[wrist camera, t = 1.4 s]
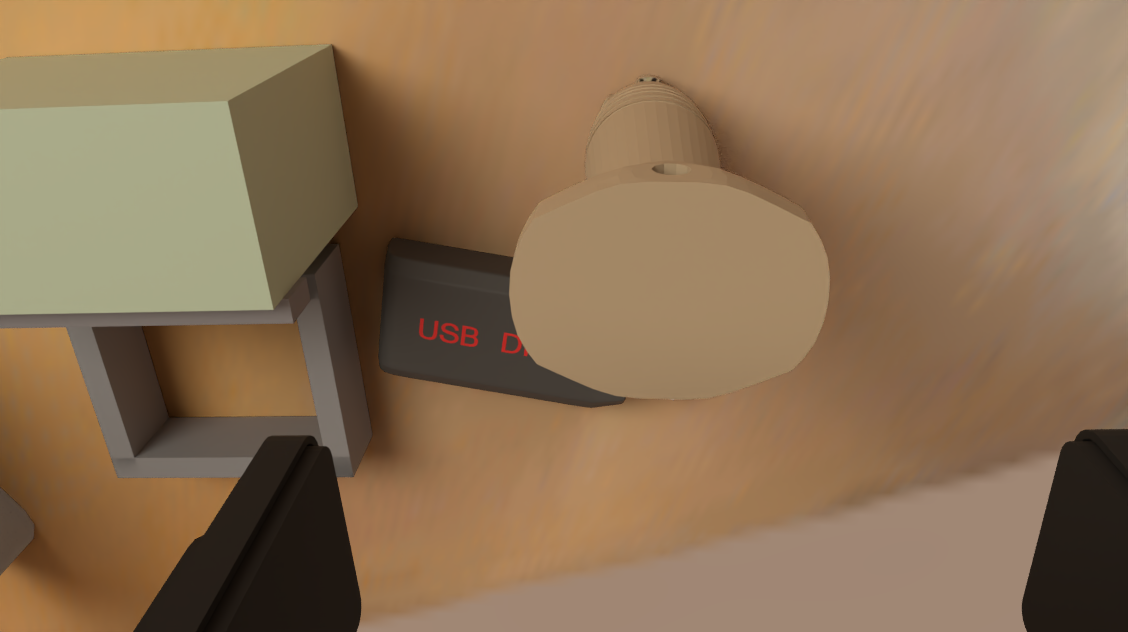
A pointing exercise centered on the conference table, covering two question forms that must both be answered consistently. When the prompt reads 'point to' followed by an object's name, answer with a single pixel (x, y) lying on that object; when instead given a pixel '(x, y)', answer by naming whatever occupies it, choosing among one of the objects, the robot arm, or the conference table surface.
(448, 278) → the usb drive
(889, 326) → the conference table surface
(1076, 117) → the conference table surface
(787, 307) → the handle
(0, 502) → the flask
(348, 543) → the robot arm
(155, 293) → the green box on stand
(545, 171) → the conference table surface
